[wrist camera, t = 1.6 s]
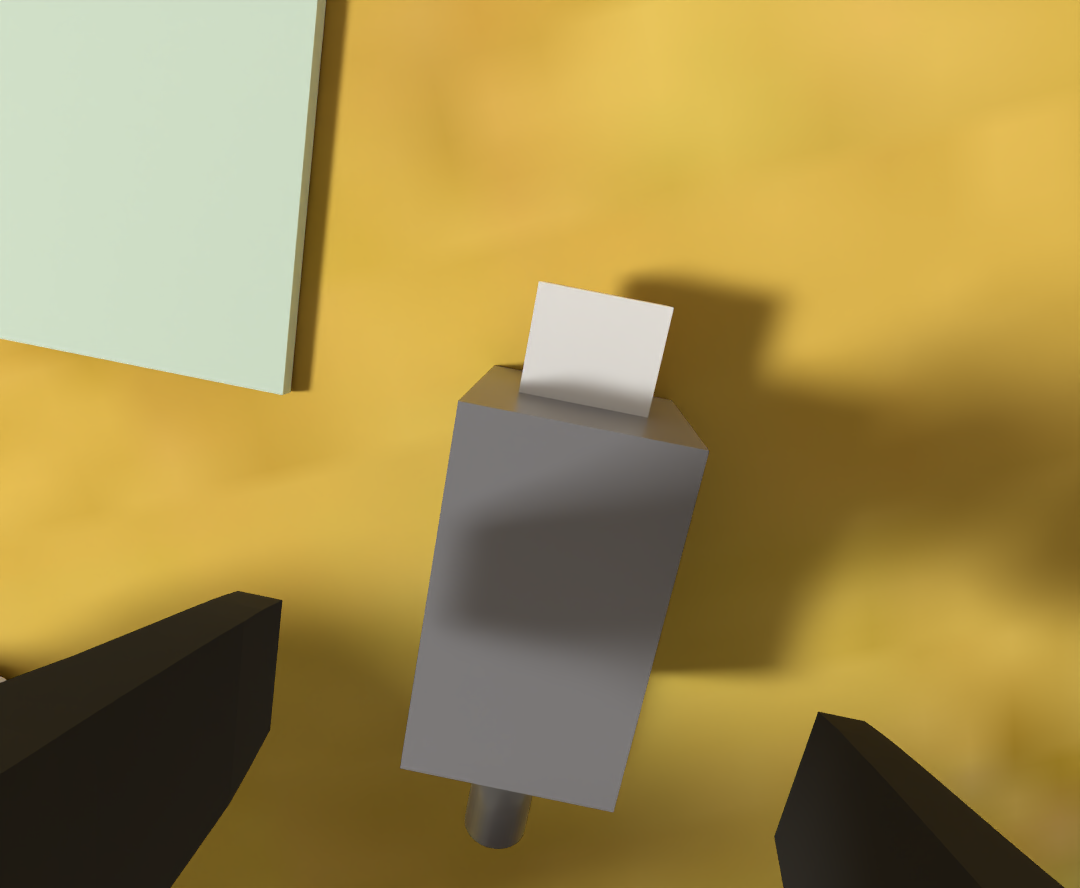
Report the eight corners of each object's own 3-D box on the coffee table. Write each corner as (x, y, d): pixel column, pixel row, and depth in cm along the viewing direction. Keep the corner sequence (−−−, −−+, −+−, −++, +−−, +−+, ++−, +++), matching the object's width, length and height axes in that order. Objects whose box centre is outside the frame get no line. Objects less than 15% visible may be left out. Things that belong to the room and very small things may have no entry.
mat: (290, 391, 15) (282, 395, 14) (-90, 315, 15) (-108, 316, 15) (337, -121, 12) (329, -133, 12) (-121, -206, 12) (-144, -222, 12)
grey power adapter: (580, 768, 17) (580, 936, 13) (431, 737, 17) (380, 894, 13) (693, 309, 14) (743, 323, 10) (510, 273, 14) (478, 270, 10)
